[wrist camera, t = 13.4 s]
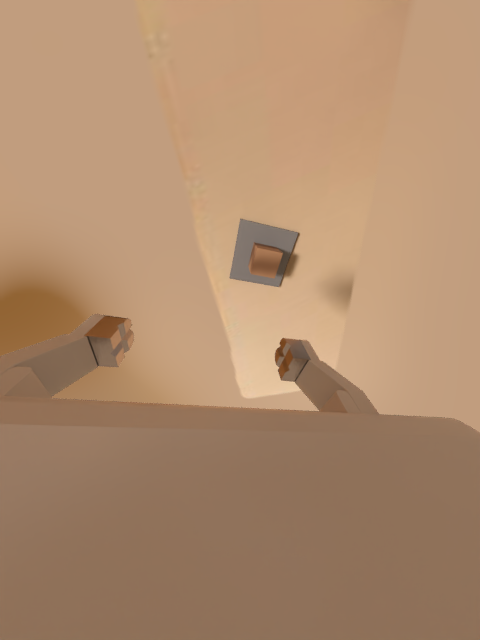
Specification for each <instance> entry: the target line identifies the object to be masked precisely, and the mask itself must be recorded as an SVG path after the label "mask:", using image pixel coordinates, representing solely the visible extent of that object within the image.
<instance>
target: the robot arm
mask: <svg viewBox="0 0 480 640" xmlns="http://www.w3.org/2000/svg"><path fill="white" fill-rule="evenodd" d="M131 326H132V324H131V320H130V319H128V318H121V317H114V316H106V315H100V314H94V315H92V316H90V317H89V318H88V319H87V320H86V321H85V322H83V323H82V324H81V325H80V326H79V327H77V328H76V329H75V330H74V331H73V332H71V333H70V334H69V335H68V334H64V335H61V336H58V337H55V338H52V339H49V340H46V341H44V342H41V343H38V344H35V345H32V346H29V347H26V348H23V349H20V350H17V351H14V352H11V353H8V354H5V355H3V356H0V640H480V433H479V432H478V431H476V430H475V429H473V428H472V427H470V426H468V425H466V424H464V423H463V422H461V421H458V420H456V419H452V418H445V417H444V418H443V417H421V416H401V415H381V414H379V413H378V412H377V410H376V409H375V408H374V406H373V405H372V403H371V402H370V400H369V399H368V398H367V396H366V395H365V393H364V392H363V391H362V390H360V389H359V388H358V387H356V386H355V385H354V384H352V383H351V382H350V381H348V380H347V379H346V378H344V377H343V376H342V375H340V374H339V373H338V372H336V371H335V370H334V369H332V368H331V367H330V366H328V365H327V364H326V363H324V362H323V361H320V360H319V358H318V356H317V355H316V353H315V351H314V350H313V348H312V346H311V344H310V343H309V342H308V341H307V340H295V339H287V338H282V339H281V341H280V347H279V348H277V350H276V352H275V362H276V365H277V366H278V367H279V369H278V372H279V375H280V378H281V380H283V381H293V382H295V383H296V384H297V385H298V387H299V388H300V389H301V390H302V391H303V392H304V394H305V395H306V396H307V397H308V398H309V399H310V400H311V402H312V403H313V404H314V405H315V406H316V407H317V408H318V410H319V411H299V410H280V409H259V408H237V407H218V406H198V405H178V404H157V403H137V402H117V401H95V400H76V399H75V400H74V399H55V398H52V396H54V395H55V394H56V393H58V392H60V391H61V390H63V389H64V388H66V387H68V386H69V385H71V384H72V383H74V382H75V381H77V380H78V379H80V378H82V377H83V376H85V375H86V374H88V373H89V372H91V371H93V370H94V369H96V368H97V367H98V366H107V367H119V365H120V364H121V362H122V360H123V359H124V357H125V355H124V353H125V352H127V351H128V350H130V348H131V346H132V344H133V341H134V334H133V332H132V331H131V330H130V328H131Z"/></svg>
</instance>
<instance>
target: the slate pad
mask: <svg viewBox="0 0 480 640" xmlns="http://www.w3.org/2000/svg"><path fill="white" fill-rule="evenodd" d="M297 235H298V233H297V232H293V231H289V230H285V229H281V228H277V227H272V226H268V225H264V224H260V223H256V222H252V221H247V220H243V219H240V224H239V230H238V235H237V241H236V246H235V252H234V257H233V262H232V268H231V273H230V278H231V279H236V280H242V281H247V282H253V283H259V284H264V285H270V286H276V287H279V285H280V283H281V280H282V277H283V274H284V271H285V269H286V266H287V263H288V260H289V258H290V255H291V252H292V249H293V246H294V244H295V241H296V238H297ZM254 242H255V243H259V244H264V245H269V246H273V247H277V248H278V249H279V250H280V251H281V252H282V253H283V255H282V258H281V261H280V264H279V267H278V270H277V273H276V276H275V278H269V277H264V276H258V275H253V274H251V273H250V270H249V267H248V265H249V261H250V256H251V252H252V248H253V244H254Z"/></svg>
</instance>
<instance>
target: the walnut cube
mask: <svg viewBox="0 0 480 640" xmlns="http://www.w3.org/2000/svg"><path fill="white" fill-rule="evenodd" d="M282 255H283V253H282V252H281V251H280V250H279V249H278V248H277V247H273V246H269V245H264V244H259V243H255V242H254V244H253V248H252V252H251V256H250V261H249V265H248V267H249V270H250V273H251V274H253V275H258V276H264V277H269V278H275V276H276V273H277V270H278V267H279V264H280V261H281V258H282Z"/></svg>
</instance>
